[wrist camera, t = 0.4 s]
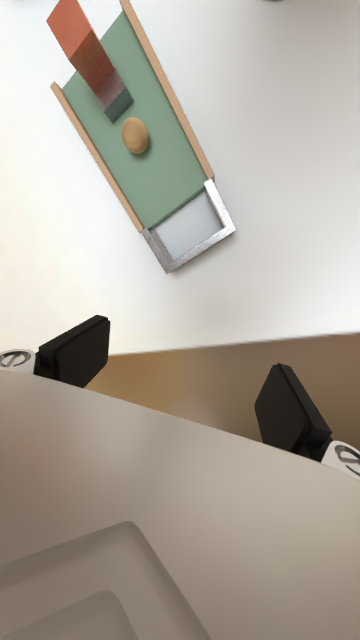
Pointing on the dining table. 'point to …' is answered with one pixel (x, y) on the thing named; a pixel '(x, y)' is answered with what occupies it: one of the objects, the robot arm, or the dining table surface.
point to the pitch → (157, 115)
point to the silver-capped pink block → (89, 57)
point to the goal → (227, 229)
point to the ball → (134, 135)
